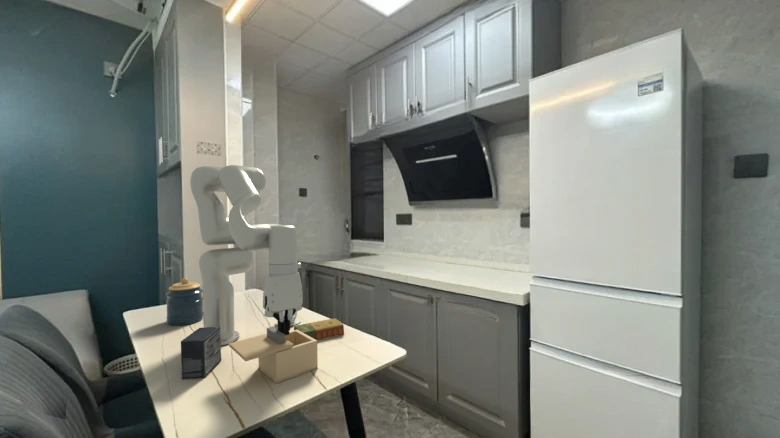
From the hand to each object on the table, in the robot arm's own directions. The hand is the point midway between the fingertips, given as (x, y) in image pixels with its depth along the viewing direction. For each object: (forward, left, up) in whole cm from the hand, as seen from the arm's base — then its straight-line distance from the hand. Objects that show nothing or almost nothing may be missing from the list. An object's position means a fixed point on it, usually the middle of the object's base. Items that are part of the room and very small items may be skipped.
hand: (284, 333), depth 93 cm
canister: (-68, -11, -10) cm, 70 cm away
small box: (-16, -17, -10) cm, 25 cm away
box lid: (0, -7, -2) cm, 7 cm away
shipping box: (0, +1, -10) cm, 10 cm away
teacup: (-37, +19, -10) cm, 42 cm away
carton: (-16, +21, -11) cm, 28 cm away
